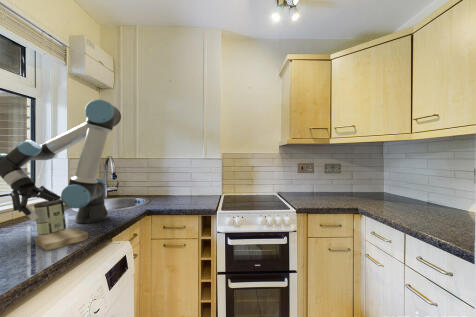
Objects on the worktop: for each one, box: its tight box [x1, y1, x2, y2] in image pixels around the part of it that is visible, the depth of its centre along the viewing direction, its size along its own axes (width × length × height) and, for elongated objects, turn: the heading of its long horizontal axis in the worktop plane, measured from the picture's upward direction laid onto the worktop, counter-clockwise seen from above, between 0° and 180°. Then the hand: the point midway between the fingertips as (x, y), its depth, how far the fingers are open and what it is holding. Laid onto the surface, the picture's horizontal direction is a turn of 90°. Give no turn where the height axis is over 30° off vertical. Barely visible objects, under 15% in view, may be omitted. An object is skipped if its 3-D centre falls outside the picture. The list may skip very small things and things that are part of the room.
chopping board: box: [34, 227, 89, 252], centre depth 90 cm, size 14×13×2 cm
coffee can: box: [33, 199, 67, 237], centre depth 99 cm, size 10×10×14 cm
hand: (51, 214), depth 99 cm, fingers open, 13 cm apart
